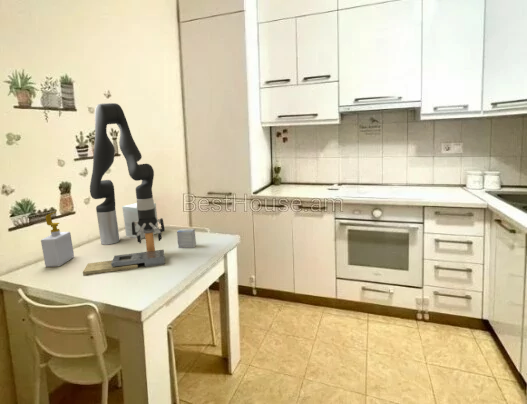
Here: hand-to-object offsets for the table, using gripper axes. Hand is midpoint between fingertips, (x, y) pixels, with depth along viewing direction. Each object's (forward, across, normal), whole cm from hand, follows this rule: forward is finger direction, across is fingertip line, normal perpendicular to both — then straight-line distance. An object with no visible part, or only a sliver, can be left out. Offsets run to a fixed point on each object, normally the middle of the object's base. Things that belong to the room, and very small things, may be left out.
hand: (149, 241), depth 161 cm
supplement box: (+6, +6, -38) cm, 39 cm away
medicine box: (+6, -17, -5) cm, 19 cm away
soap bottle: (+6, +40, -6) cm, 41 cm away
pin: (+6, 0, 0) cm, 6 cm away
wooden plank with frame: (+6, +10, +11) cm, 16 cm away
